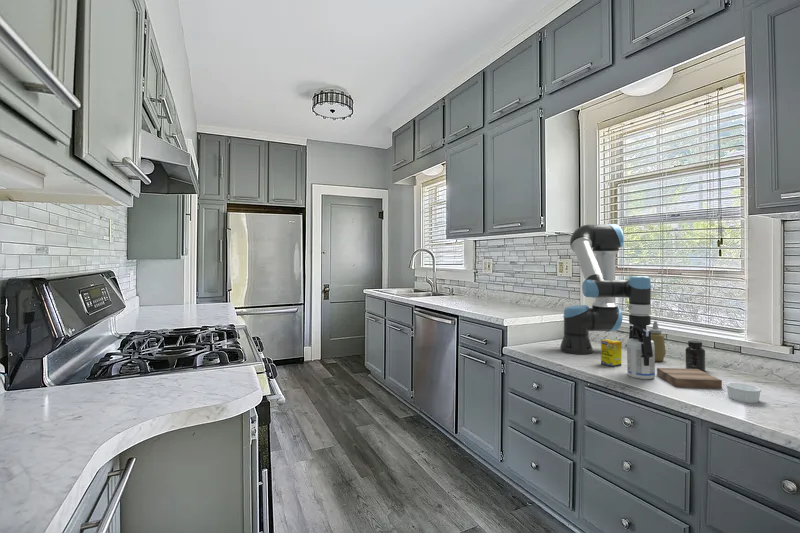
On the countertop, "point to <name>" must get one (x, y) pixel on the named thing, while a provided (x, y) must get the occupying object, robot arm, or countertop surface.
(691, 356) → the supplement bottle
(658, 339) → the squeeze bottle
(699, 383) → the walnut plinth
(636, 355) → the supplement tub
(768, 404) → the countertop surface
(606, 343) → the supplement box
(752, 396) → the ramekin
